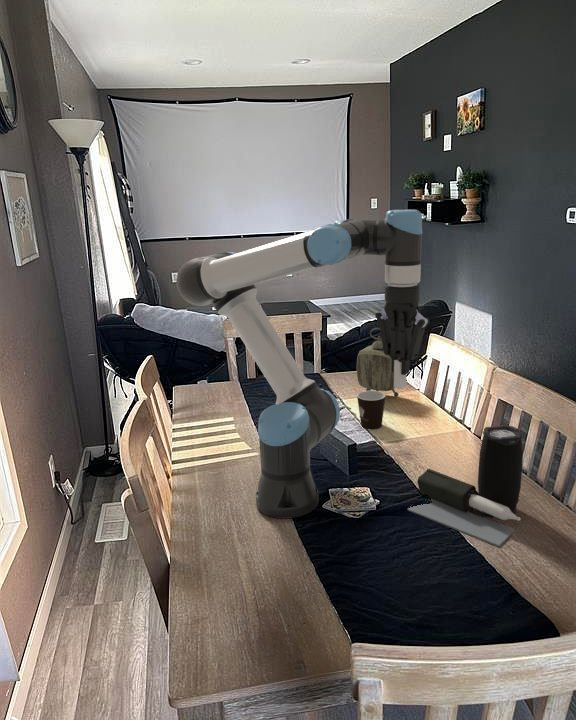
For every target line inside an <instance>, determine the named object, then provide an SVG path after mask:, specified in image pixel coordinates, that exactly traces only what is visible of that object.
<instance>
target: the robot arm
mask: <svg viewBox="0 0 576 720" xmlns="http://www.w3.org/2000/svg"><path fill="white" fill-rule="evenodd" d="M422 218H423V215H422V212H420V211H419V210H418V209H392V210H391V209H390V210H388V211H387V212H386V213H385V217H384V219H355V218H354V219H353V218H348V219H340V220H337V221H335V222H334V224H333V223H330V224H329V223H328V224H325V225H324V224H323V225H322V226H319V227H317V228H315V229H313V230H310V231H306V232H302V233H299V234H295V235H293V236H292V235H291V236H289V237H287V238H283V239H279V240H276V241H274V242H270V243H267V244H263V245H261V246H257V247H254V248H251V249H248V250H244V251H241V252H232V251H228V252H227V251H223V252H222V251H221V252H217V253H215V254H211V255H206V256H201V257H195V258H193V259H190V260H188V261H186V262H185V263H184V264H182V266H181V267H180V269H179V270H178V272H177V275H176V280H175V281H176V289H177V291H178V293H179V295H180V297H182V299H183V300H184V301H186V302H187V303H188V304H190V305H192V306H198V307H204V306H209V305H212V306H213V307H214V309H215V311H216V312H217V314H219V315H220V316H224V317H227V318H228V320H229V321H230V323H231V325H232V327H233V328H234V330H235V332H237V334H238V336H239V338H240V339H241V341H242V342H243V344H244V345H245V347H246V349H247V351H248V352H249V354H250V356H251V357H252V358H253V360H254V361H255V363H256V366H258V368H259V370H260V371H261V373H262V374H263V376H264V378H265V380H266V381H267V382H268V384H269V385H270V387H271V389H272V391H273V392H274V393H275V395H276V400H275V401H276V402H275V404H272V405H269V406H268V407H266V408H265V409H264V410H262V412H261V413H260V415H259V417H258V426H257V435H258V441H259V442H258V443H259V454H260V455H259V458H260V471H261V472H260V477H259V481H258V487H257V489H256V492H255V506H256V508H257V510H258V511H259V512H261V513H263V514H264V515H266V516H267V517H268V516H269V517H272V518H278V519H293V518H297V517H298V518H299V517H302V516H304V515H307V514H309V513H311V512H312V510H313V511H314V510H315V509H316V508H317V507H318V505H319V502H320V499H319V498H320V497H319V496H320V495H319V489H318V487H317V485H316V482H315V479H314V477H313V474H312V471H311V452H310V451H311V450H312V449H313V448H314V447H315V446H316V445H318V444H319V443H320V442H321V441H322V440H323V439H324V438H326V437H328V436H329V435H330V434H331V433H332V432H333V431H334V429H335V428H336V426H337V425H338V423H339V421H340V416H341V410H340V405H339V402H338V400H337V399H336V397H335V396H334V395H333V394H332V393H331V392H330V391H329V390H325V388H320V387H319V386H318V385H319V384H317V382H316V381H315V380H314V379H310V378H308V377H306V376H305V374H304V373H303V371H302V370H301V368H300V367H299V365H298V363H297V362H296V360H295V359H294V357H293V356H292V354H291V352H290V351H289V350H288V349H289V348H288V347H287V346H286V345H285V342H283V339H282V338H281V336H280V335H279V333H278V332H277V330H276V328H275V327H274V325H273V324H272V322H271V321H270V319H269V317H268V316H267V313H266V312H265V311H264V309H263V308H262V306H261V305H260V303H259V301H258V300H257V293H258V289H257V287H256V285H257V284H261V283H265V282H268V281H271V280H276V279H279V278H283V277H287V276H290V275H294V274H297V273H301V272H304V271H305V272H306V271H309V270H313V269H316V268H321V267H325V266H331V265H336V264H339V263H341V262H342V261H345V260H350V259H352V258H357V257H358V256H384V257H385V258H384V259H385V260H384V282H385V283H387V284H385V286H384V301H385V305H384V307H383V308H384V309H382V310H381V311H379V312H378V311H377V312H375V314H374V315H375V319H376V321H377V323H378V326H379V327H378V328H380V330H379V331H380V336H381V338H382V340H381V341H382V344H383V350H384V354H385V355H388V356H390V357H391V359H392V372H394V389H396V390H400V389H403V388H406V387H407V375H408V374H409V373H410V363H411V362H410V361H411V360H415V359H417V358H418V357H419V353H420V349H421V346H422V342H423V339H424V338H423V337H424V334H425V329H426V328H427V326H428V325H429V324H430V318H429V317H424V316H423V315H422V314H421V309H420V306H419V304H420V303H419V302H420V300H421V286H420V284H419V283H420V282H421V274H422V273H421V271H422V267H421V266H422V241H423V234H424V233H423V219H422ZM414 324H415V326H414ZM412 330H413V331H412Z"/></svg>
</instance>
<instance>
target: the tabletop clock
mask: <svg viewBox="0 0 576 720" xmlns="http://www.w3.org/2000/svg"><path fill="white" fill-rule="evenodd" d="M373 331H380V327H373V328H372V329H371V330H370V331H369V335H370V337H371V338H372V339H374V340H375V341H373V343H372V344H371V345H367V346H366V347H365V348H363V349H361V350H359V351H358V354H357V358H356V377H357V381H358V382H357V383H358V385H359V386H361V388H365V391H379V392H381V391H382V392H390V391H392V393H393V396H394V397H398V396H399V392H397V391H395V388H394V372H392V359H391V357H390V356H388V355H385V354H384V350H383V344H382V338H381V335H377V337H375V336H373V335H372V332H373Z"/></svg>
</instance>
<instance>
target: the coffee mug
mask: <svg viewBox="0 0 576 720" xmlns="http://www.w3.org/2000/svg"><path fill="white" fill-rule="evenodd" d="M356 398H357V405H358V412H359V420H360V425H361V426H362V427H363V429H365V428H366V429H365V430H369V429H370V430H373V431H374V430H378V429H381V428H382V424H383V419H384V408H385V404H386V403H385V401H386V394H385V393H384V392H383V391H382V392H381V391H376V390H371V391H366V390H364V391H363V390H362V391H360V392H358V393H357V394H356ZM362 427H361V428H362Z"/></svg>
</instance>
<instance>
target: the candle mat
mask: <svg viewBox="0 0 576 720" xmlns="http://www.w3.org/2000/svg"><path fill="white" fill-rule="evenodd" d="M431 501H432V503H430V504H423V505H422V504H421V505H417V506H413V507H411V506H409V507H410V508H409V507H408V508H407V511H408V512H410V513H413V514H415V515H418V516H420V517H422V518H426V519H428V520H431V521H433V522H435V523H438V524H441V525H443V526H445V527H447V528H451V529H453V530H455V531H458V532H460V533H463V534H465V535H468V536H470V537H472V538H476V539H478V540H481V541H483V542H485V543H488V544H491V545H493V546H496V547H498V548H500V546H501V545H503V544H504V543H505V542H506V541H507V540H508V538H510V537H511V536H512V535H513V534H514V533H515V532H516V529H514V528H512V527H509V526H507V525H504V524H502V523H500V522H499V523H498V522H495V521H494V520H490V519H488V518H484V517H482V516H480V515H477V514H474V513H472V512H469V511H468V512H464V511H461V510H459V509H457V508H454V507H452V506H450V505H447V504H445V503H443V502H440V501H438V500H436V499H433V498H431Z"/></svg>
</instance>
